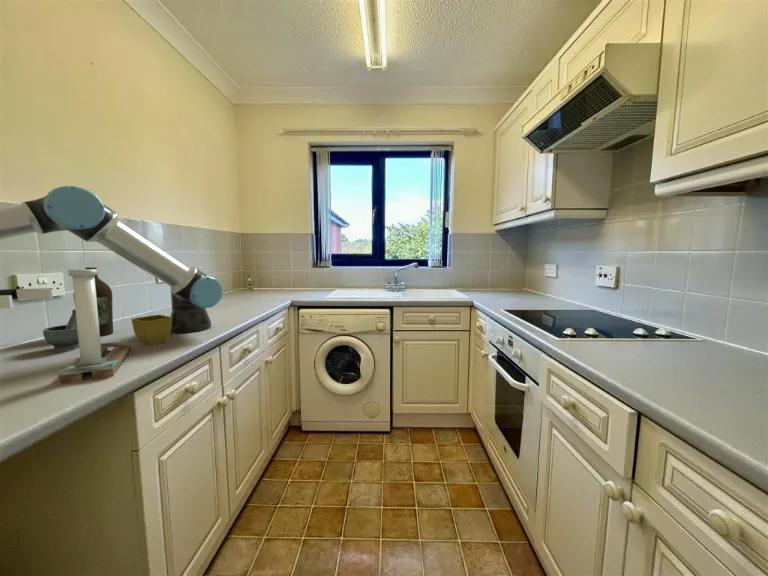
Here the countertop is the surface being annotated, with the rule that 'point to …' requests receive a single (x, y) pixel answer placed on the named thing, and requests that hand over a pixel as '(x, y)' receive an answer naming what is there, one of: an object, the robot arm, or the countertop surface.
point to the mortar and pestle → (63, 335)
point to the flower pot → (152, 329)
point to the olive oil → (103, 306)
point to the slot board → (98, 371)
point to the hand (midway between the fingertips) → (33, 297)
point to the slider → (87, 317)
